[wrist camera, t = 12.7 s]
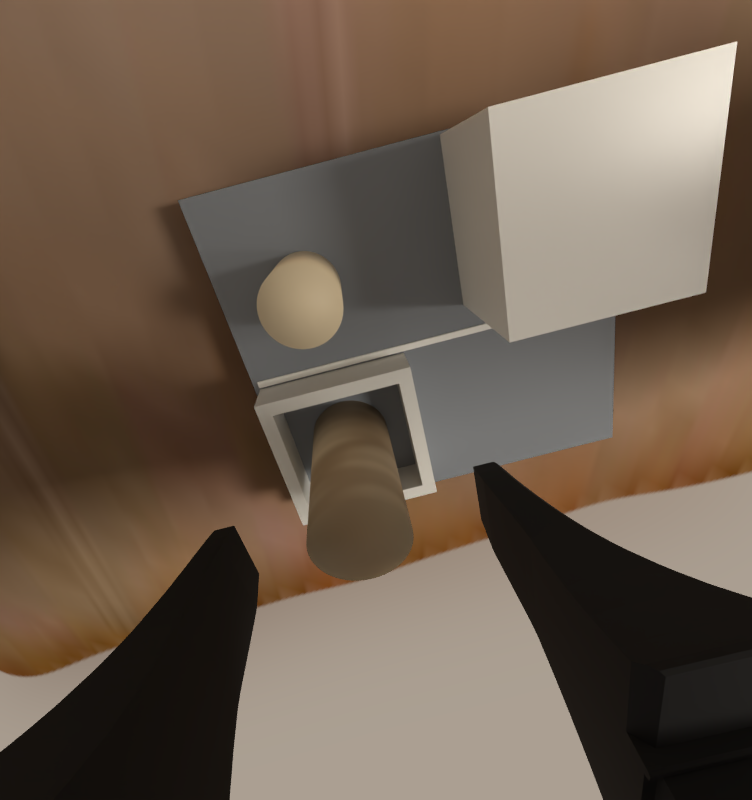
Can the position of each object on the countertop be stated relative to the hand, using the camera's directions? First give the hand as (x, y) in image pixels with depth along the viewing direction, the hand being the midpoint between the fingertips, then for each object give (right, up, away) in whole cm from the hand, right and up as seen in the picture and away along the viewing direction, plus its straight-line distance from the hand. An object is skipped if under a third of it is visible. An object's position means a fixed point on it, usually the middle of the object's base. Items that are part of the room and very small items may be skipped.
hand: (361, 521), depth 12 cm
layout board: (+2, +6, +4) cm, 8 cm away
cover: (+6, +10, +2) cm, 12 cm away
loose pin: (-1, +2, +5) cm, 5 cm away
